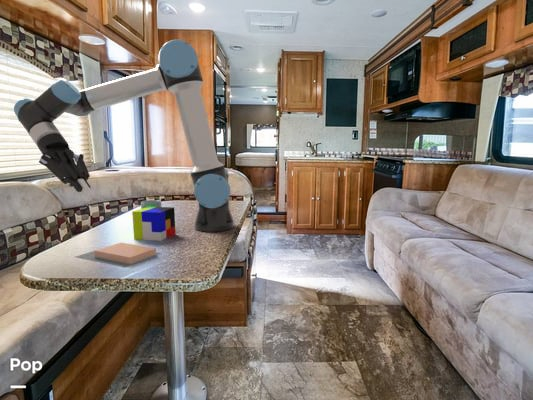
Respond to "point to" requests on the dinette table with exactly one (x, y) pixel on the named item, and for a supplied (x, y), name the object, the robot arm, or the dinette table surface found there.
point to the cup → (151, 203)
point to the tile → (125, 253)
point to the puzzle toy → (154, 223)
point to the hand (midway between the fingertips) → (90, 198)
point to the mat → (92, 257)
